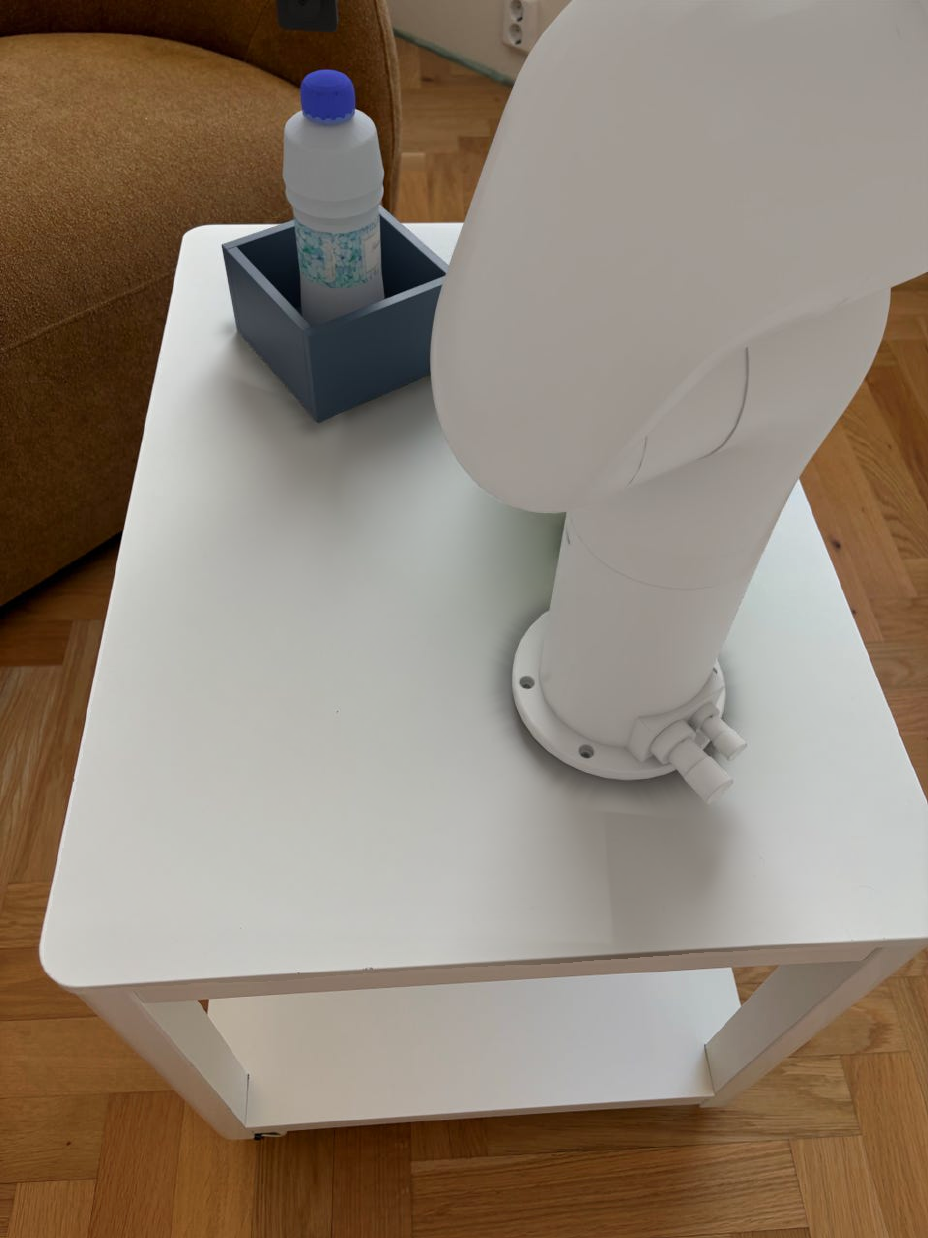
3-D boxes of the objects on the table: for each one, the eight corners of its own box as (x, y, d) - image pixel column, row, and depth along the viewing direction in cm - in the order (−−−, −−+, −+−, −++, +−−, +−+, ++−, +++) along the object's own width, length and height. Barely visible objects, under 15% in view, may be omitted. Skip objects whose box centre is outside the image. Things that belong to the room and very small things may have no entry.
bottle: (386, 370, 75) (376, 103, 59) (297, 366, 75) (263, 98, 59) (391, 314, 79) (384, 50, 63) (307, 311, 79) (278, 45, 63)
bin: (459, 362, 77) (462, 276, 71) (317, 422, 72) (308, 337, 66) (372, 279, 83) (368, 193, 77) (236, 330, 78) (220, 244, 72)
